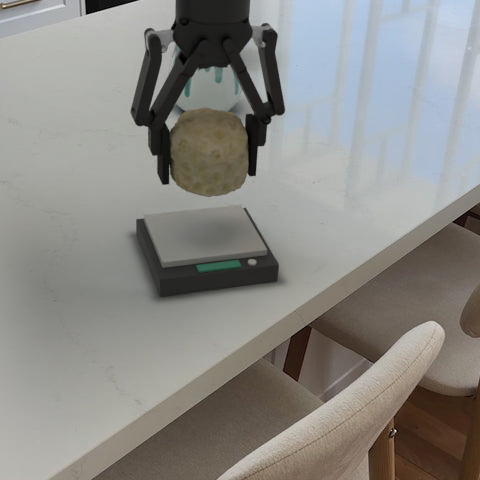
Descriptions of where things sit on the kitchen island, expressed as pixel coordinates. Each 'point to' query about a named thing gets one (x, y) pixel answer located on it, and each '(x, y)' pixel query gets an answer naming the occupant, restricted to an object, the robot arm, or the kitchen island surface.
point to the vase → (209, 88)
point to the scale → (205, 250)
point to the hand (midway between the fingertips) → (206, 174)
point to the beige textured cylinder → (208, 152)
